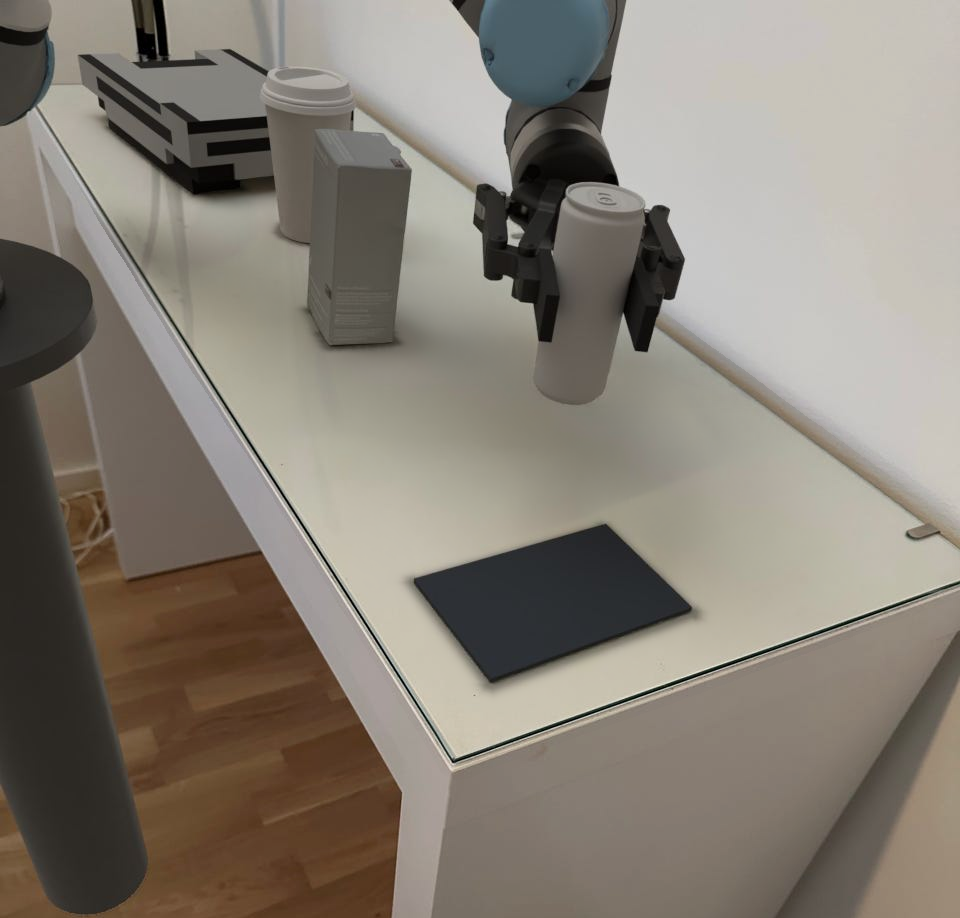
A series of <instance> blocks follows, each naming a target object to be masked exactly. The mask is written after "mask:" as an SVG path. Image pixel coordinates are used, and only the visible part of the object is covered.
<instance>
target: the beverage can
mask: <svg viewBox="0 0 960 918" xmlns="http://www.w3.org/2000/svg"><path fill="white" fill-rule="evenodd" d="M646 206H647V205H646V200H645V199H644V197H642V196H641V195H640V194H638V193H637V192H635V191H632V190H631V189H629V188H626V187H622V186H621V185H619V186H616V185H611V184H605V183H597V182H582V183H576V184H573V185H570V186H569V187H568V188H567V189H566V198H565V199H564V200H563V201H562V203H561V208H560V214H559V220H558V226H557V232H556V238H555V244H554V250H553V251H552V257H553V262H554V267H555V273H556V278H557V283H558V288H559V293H560V299H559V304H558V310H557V316H556V321H555V327H554V332H553V338H552V343H550V342H540V341H538V340H537V347H536V353H535V359H534V366H533V370H532V378H531V379H532V383H533V384H534V386H535V388H536V389H537V391H538V393H540V394H541V396H544V397H545V398H546V399H548V400H550V401H552V402H554V403H557V404H562V405H566V406H583V405H587V404H591V403H593V402H594V401H596V400H597V399H599V398H600V397H601V396H603V394H604V392H605V390H606V387H607V383H608V379H609V375H610V371H611V367H612V362H613V358H614V354H615V351H616V350H615V349H616V345H617V340H618V336H619V332H620V328H621V323H622V320H623V316H624V314H623V311H624V307H625V302H626V298H627V294H628V290H629V285H630V281H631V277H632V272H633V268H634V264H635V260H636V255H637V251H638V247H639V242H640V238H641V234H642V229H643V225H644V221H645V216H644V212H643V210H644V209H646Z"/></svg>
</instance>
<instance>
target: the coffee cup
mask: <svg viewBox="0 0 960 918" xmlns="http://www.w3.org/2000/svg"><path fill="white" fill-rule="evenodd" d="M268 71H269V72H268V74H267V79H266V82H265V83H264V84H263V86H262V89H261V93H260V99H261V101H262V102H263V103H265V106H266V114H267V122H268V130H269V138H270V146H271V155H272V163H273V171H274V175H273V180H274V187H275V195H276V204H277V213H278V220H279V222H278V223H279V229H280V233H281V234H282V236H284V237H286V238H287V239H289V240H292V241H295V242H299V243H304V244H310V232H311V212H312V190H313V168H314V145H315V130H316V129H337V130H348V131H350V121H351V112H352V111H353V110H354V111H355V110H356V108H357V101H356V97H355V95H354V92H353V91H352V89H351V88H350V87H351V86H350V83H349V79H348V78H347V77H346V76H344V75H343V74H340V73H338V72H335V71H332V70H329V69H324V68H319V67H312V66H295V65H294V66H293V65H292V66H291V65H289V66H280V67H275V68H273V69H272V68H271V69H270V70H268Z"/></svg>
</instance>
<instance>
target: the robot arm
mask: <svg viewBox="0 0 960 918" xmlns="http://www.w3.org/2000/svg"><path fill="white" fill-rule="evenodd" d="M448 1H449V2H450V4H451V5H452V6H453V7H454V8H455V9H456V11H457V12H458V13H459V15H460V16H461V18H462V19H463V20H464V22H465V23H466V24H467V25H468V26H469V28H470V29H471V30H472V32H473V33H474V34H475V35H476V37H477V39H478V43H479V50H480V56H481V60H482V63H483V66H484V68H485V70H486V72H487V73H486V74H488V77H489V78H490V80H491V82H492V83H493V84H494V85H495V86H496V88H497V89H498V90H499V91H500V92H501V93H502V94H503V95H505V96H506V97H507V98H508V99H510V100H511V101H510V103H509V106H508V108H507V110H506V114H505V120H504V121H505V124H504V128H503V144H504V146H505V154H506V156H507V159H508V168H509V173H510V179H511V180H510V181H511V187H512V190H511V192H510V195H507V192H506V191H502V190H498V189H497V188H496V187H495V186H494V185H491V184H490V183H485V182H483V183H479V184H476V190H475V198H474V199H475V200H474V210H473V218H472V224H473V225H474V227H475V228H476V230H478V231H479V232H480V233H481V238H482V239H481V241H482V242H481V243H482V263H483V264H482V266H483V277H484V278H485V279H487V280H489V281H492V282H495V281H497V282H498V281H501V280H503V278H504V276H505V277H508V278H511V279H512V280H513V281H512V287H511V292H510V295H511V298H513V299H515V300H517V301H519V302H520V303H525V304H532V306H533V312H534V313H533V314H534V321H535V326H536V333H537V342H538V341H540V342H550V343H552V338H553V332H554V327H555V321H556V316H557V310H558V304H559V299H560V293H559V288H558V283H557V278H556V273H555V267H554V262H553V257H552V256H553V250H554V244H555V238H556V232H557V226H558V220H559V214H560V208H561V203H562V201H563V200H564V199H565V198H566V189H567V188H568V187H569V186H570V185H573V184H576V183H582V182H597V183H605V184H611V185H616V186H620V182H619V178H618V174H617V171H616V168H615V166H614V163H613V161H612V158H611V154H610V151H609V149H608V147H607V145H606V141H605V139H604V138H603V137H604V136H603V135H602V131H603V126H604V125H603V124H604V119H605V114H606V109H607V104H608V99H609V93H610V87H611V83H612V77H613V75H612V72H613V67H614V62H615V57H616V54H617V48H618V43H619V39H620V35H621V34H620V33H621V29H622V24H623V19H624V14H625V9H626V5H627V0H448ZM52 9H53V8H52V5H51V3H50V1H49V0H0V128H1V127H6V126H9V125H12V124H14V123H16V122H18V121H19V120H22V119H23V118H24V117H26V116H27V114H28V112H32V110H33V109H34V108H36V107H37V106H38V105H39V104H40V103H41V102H42V101H43V100H44V98H45V97H46V96H47V93H48V92H49V90H50V87H51V85H52V82H53V78H54V74H55V65H56V54H55V52H56V51H55V44H54V42H53V41H51V40H50V37H49V32H48V31H49V30H50V27H49V26H50V24H51V20H52V14H53V12H52ZM643 212H644V216H645V221H644V225H643V229H642V234H641V238H640V242H639V247H638V251H637V255H636V260H635V264H634V268H633V272H632V277H631V281H630V285H629V290H628V294H627V298H626V302H625V307H624V311H623V317H624V320H625V324H626V326H627V330H628V333H629V337H630V340H631V344H632V346H633V350H634V352H638V353H639V352H640V353H648V352H649V349H650V345H651V341H652V337H653V333H654V329H655V327H656V322H657V318H659V315H660V312H661V310H662V305H663V303H664V302H663V301H664V300H665V301H673V300H674V299H675V298H676V294H677V292H678V288H679V285H680V280H681V278H682V277H681V276H682V273H683V270H684V266H685V263H686V258H685V256H684V253H683V251H682V249H681V247H680V245H679V243H678V241H677V239H676V237H675V234H674V232H673V229H672V228H671V226H670V223H669V216H670V212H671V209H670V207H668V206H667V205H664V204H654V205H653V206H652V207H651V209H649V208H644V210H643ZM509 219H510V220H511V221H512V222H513V223H514V224H516V225H518V226H519V227H520V228H521V229H522V231H523V234H522V236H521V238H520V240H519V242H518V245H517V246H516V245H512V244H508V243H509V233H508V222H507V221H508V220H509ZM5 296H6V295H5V289H4V285H3V281H2V277H1V275H0V307H1V306H2V305H3V303H4V300H5Z"/></svg>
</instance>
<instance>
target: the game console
mask: <svg viewBox="0 0 960 918" xmlns="http://www.w3.org/2000/svg"><path fill="white" fill-rule="evenodd" d="M77 59H78V60H77V61H78V66H79V72H80V78H81V84H82V85H83V86H84V87H85V88H86V89H87V90H88V91H90V92H91V93H93V94H94V95H95V96H97V100H98V106H99V108H101V109H102V110H103V111H105V116H106V118H107V122H108V128H109V129H110V130H111V131H113V132H114V133H115V134H117V135H118V136H119V137H120V138H122V139H123V140H124V141H125V142H127V143H128V144H129V145H131V146H132V147H133V148H134V149H136V151H138V152H139V153H140V154H142V155H143V156H144V157H146V158H147V159H148V160H149V161H150V162H151V163H153V164H154V165H155V166H156V167H158V168H159V169H160V170H162V171H163V172H164V173H165V174H167V175H168V176H169V177H170V178H171V179H172V180H174V181H175V182H177V183H178V184H179V185H180V186H181V187H183V189H186V190H187V191H188V192H190V194H192V195H200V194H208V193H217V192H224V191H225V192H226V191H233V190H235V191H236V190H241V189H242V184H241V182H242V181H241V180H246V179H254V178H264V177H272V176H273V177H274V171H273V163H272V155H271V146H270V138H269V130H268V122H267V114H266V106H265V103H263V102H262V101H261V99H260V93H261V89H262V86H263V84H264V83H265V82H266V79H267V74H268V72H269V71H270V70H267V69H266V68H265V67H262V66H260V65H258V64H257V63H255V62H253V61H252V60H250V59H249V58H247V57H245V56H243V55H241V54H239V53H238V52H236V50H235V51H234V50H233V49H231V48H219V49H195V50H194V58H193V59H190V58H189V59H172V60H170V59H169V60H166V59H165V60H148V61H147V60H146V61H131V60H129V59H128V58H127V57H124V55H122V54H121V53H119V52H114V53H113V52H111V53H84V54H82V53H81V54H77ZM354 117H355V109H354V110H353V111H352V112H351V121H350V131H354V121H355V120H354V119H355V118H354Z"/></svg>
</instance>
